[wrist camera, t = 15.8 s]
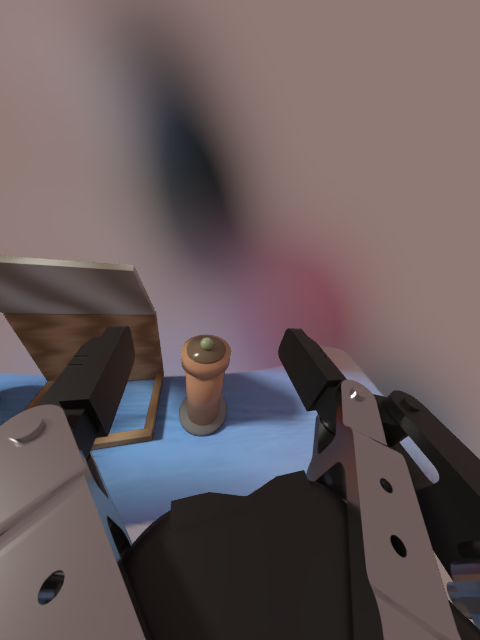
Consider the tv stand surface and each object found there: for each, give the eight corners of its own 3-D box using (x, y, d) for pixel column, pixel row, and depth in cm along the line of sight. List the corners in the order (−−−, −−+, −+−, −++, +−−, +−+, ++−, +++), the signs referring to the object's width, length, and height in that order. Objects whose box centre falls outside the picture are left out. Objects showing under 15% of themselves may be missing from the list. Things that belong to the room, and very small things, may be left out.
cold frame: (-10, 465, 19) (-302, 269, 8) (55, 381, 28) (-38, 233, 17) (152, 440, 23) (113, 287, 12) (163, 373, 32) (148, 250, 21)
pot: (197, 437, 23) (198, 365, 16) (177, 405, 27) (171, 333, 19) (229, 412, 27) (242, 343, 20) (208, 386, 30) (213, 320, 23)
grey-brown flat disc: (195, 448, 23) (195, 445, 23) (171, 407, 27) (171, 404, 27) (235, 415, 27) (235, 412, 27) (209, 384, 31) (210, 381, 31)
